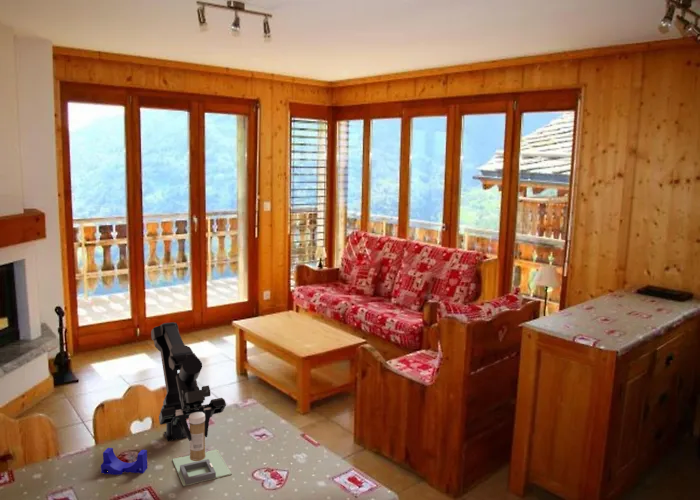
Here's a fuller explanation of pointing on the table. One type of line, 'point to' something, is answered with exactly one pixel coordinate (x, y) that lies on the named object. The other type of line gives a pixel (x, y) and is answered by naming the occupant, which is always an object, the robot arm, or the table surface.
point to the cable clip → (123, 463)
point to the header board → (201, 468)
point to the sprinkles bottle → (197, 436)
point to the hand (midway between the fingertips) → (198, 438)
